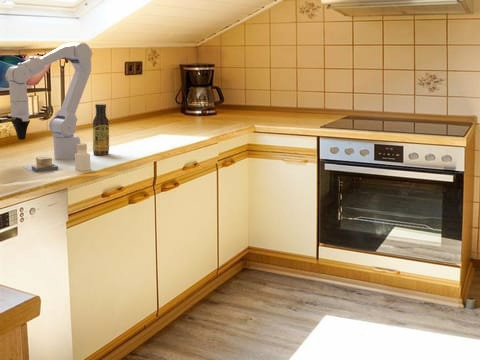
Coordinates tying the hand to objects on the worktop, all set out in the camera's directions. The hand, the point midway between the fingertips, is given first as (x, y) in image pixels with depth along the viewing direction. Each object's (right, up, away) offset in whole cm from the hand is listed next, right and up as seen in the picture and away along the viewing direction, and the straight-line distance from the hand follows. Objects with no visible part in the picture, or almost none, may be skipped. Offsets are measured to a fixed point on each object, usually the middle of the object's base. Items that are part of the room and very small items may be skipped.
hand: (21, 139), depth 222 cm
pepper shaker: (+24, -12, -8) cm, 28 cm away
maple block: (+11, -11, -9) cm, 17 cm away
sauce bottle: (+23, -5, +25) cm, 34 cm away
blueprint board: (+9, -11, -6) cm, 16 cm away
